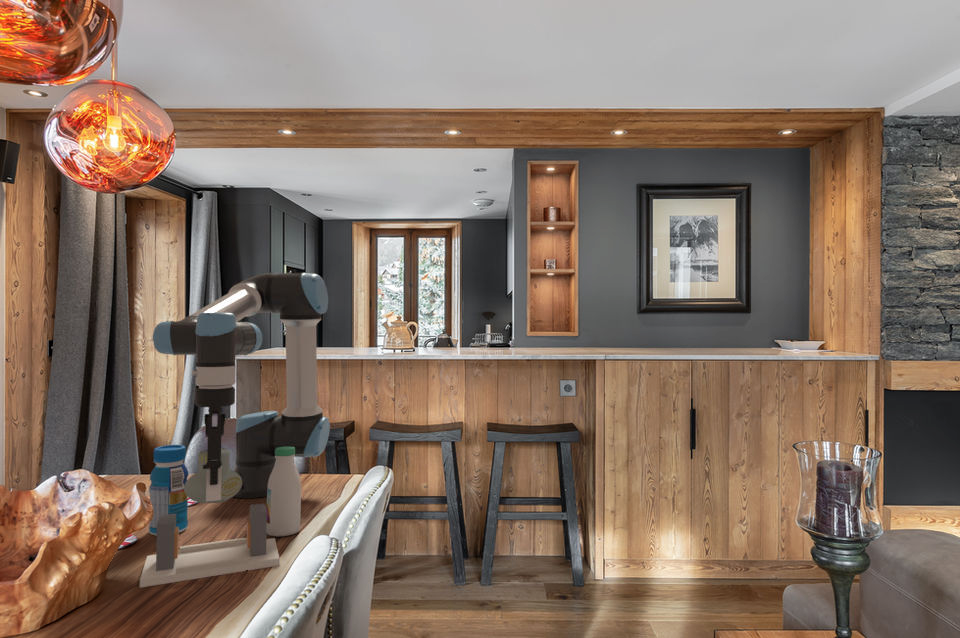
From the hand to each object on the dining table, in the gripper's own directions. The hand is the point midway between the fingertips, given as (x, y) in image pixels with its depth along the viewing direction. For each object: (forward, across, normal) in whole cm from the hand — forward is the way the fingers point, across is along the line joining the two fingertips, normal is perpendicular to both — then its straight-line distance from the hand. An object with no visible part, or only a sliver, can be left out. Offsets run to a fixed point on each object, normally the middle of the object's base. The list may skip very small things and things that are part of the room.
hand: (213, 492), depth 118 cm
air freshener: (+2, 0, 0) cm, 2 cm away
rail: (+15, 0, 0) cm, 15 cm away
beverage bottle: (+15, -25, -10) cm, 31 cm away
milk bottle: (+15, -13, +15) cm, 25 cm away
